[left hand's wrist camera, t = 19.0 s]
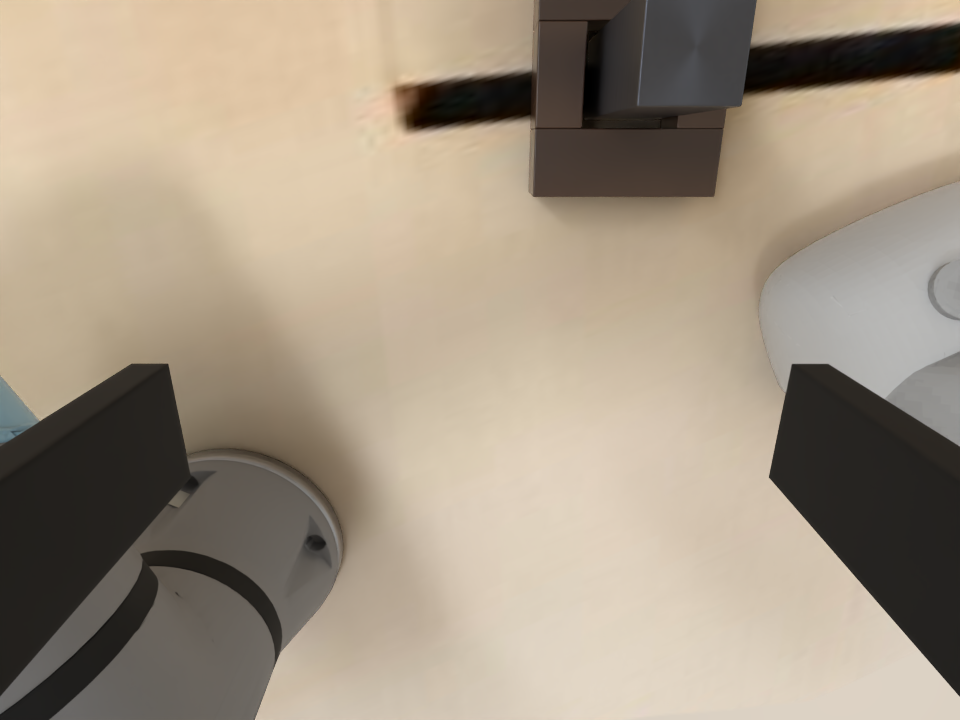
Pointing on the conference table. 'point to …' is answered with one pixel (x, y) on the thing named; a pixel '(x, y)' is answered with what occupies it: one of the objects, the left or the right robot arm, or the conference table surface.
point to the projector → (878, 307)
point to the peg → (669, 59)
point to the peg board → (605, 151)
